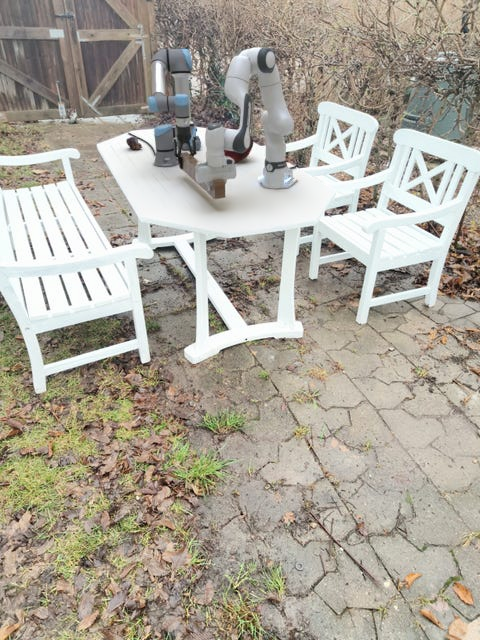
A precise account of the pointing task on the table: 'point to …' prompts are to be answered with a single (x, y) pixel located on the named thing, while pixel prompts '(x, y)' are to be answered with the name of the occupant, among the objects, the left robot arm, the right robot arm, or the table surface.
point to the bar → (216, 185)
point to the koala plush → (198, 143)
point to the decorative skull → (236, 155)
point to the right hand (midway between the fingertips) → (216, 189)
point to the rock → (133, 143)
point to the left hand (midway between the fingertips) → (186, 168)
